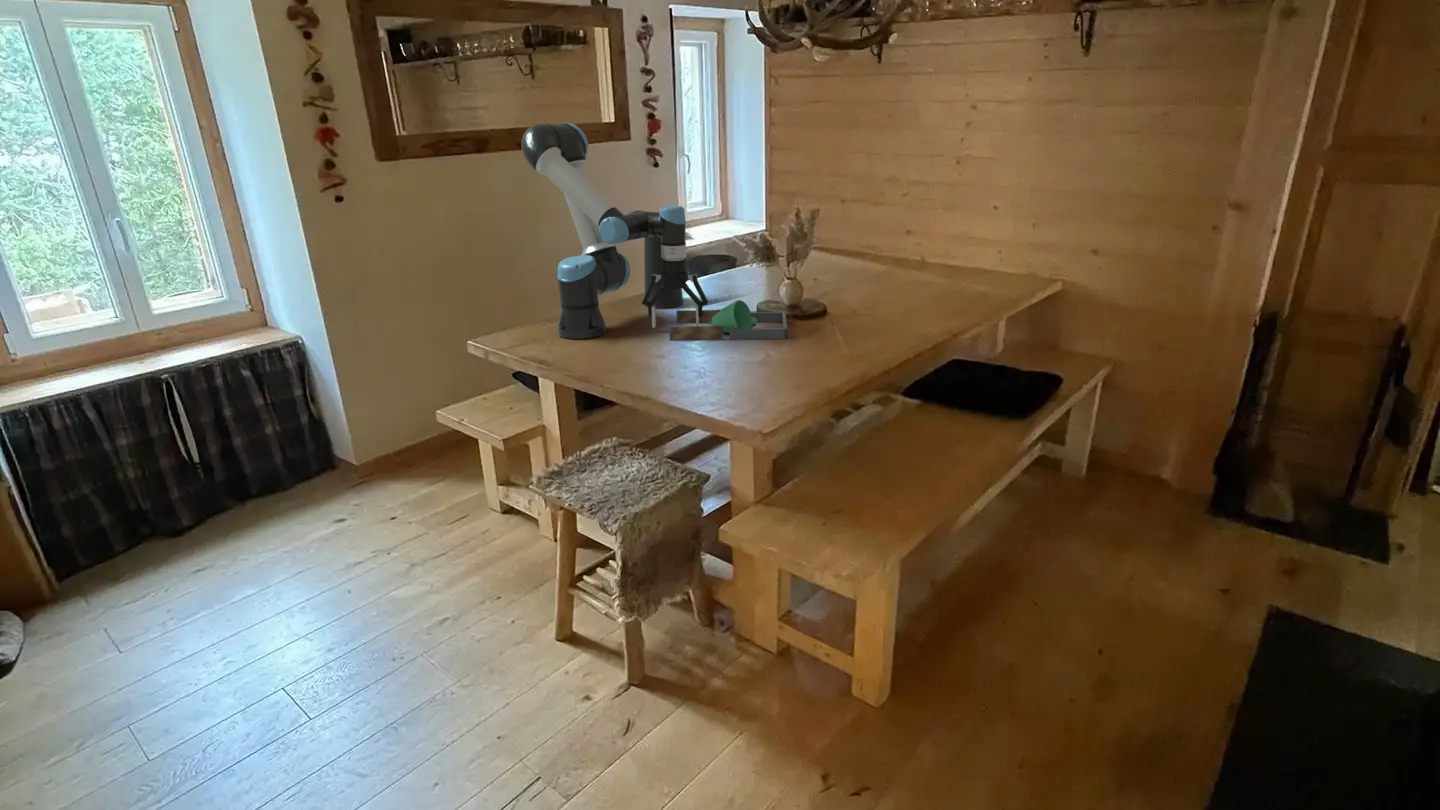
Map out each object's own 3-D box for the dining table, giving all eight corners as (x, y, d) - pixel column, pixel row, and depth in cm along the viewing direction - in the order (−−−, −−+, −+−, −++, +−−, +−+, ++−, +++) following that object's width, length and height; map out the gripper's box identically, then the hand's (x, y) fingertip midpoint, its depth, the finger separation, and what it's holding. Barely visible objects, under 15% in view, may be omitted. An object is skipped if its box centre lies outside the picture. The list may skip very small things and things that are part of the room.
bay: (669, 340, 237) (669, 327, 235) (677, 322, 257) (676, 310, 256) (723, 339, 236) (722, 326, 234) (726, 321, 256) (726, 309, 255)
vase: (660, 313, 270) (655, 227, 261) (637, 307, 280) (631, 224, 270) (691, 306, 279) (687, 223, 269) (667, 301, 288) (663, 220, 279)
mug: (708, 336, 239) (735, 329, 233) (705, 305, 240) (732, 297, 235) (735, 343, 251) (762, 336, 245) (732, 313, 252) (759, 305, 246)
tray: (729, 339, 236) (729, 329, 235) (732, 321, 256) (732, 312, 255) (787, 338, 235) (787, 328, 234) (785, 321, 255) (785, 311, 254)
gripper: (631, 260, 237) (634, 329, 244) (714, 260, 236) (715, 330, 243) (634, 256, 244) (637, 323, 251) (715, 256, 243) (716, 323, 250)
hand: (675, 327), depth 247 cm, fingers open, 13 cm apart
